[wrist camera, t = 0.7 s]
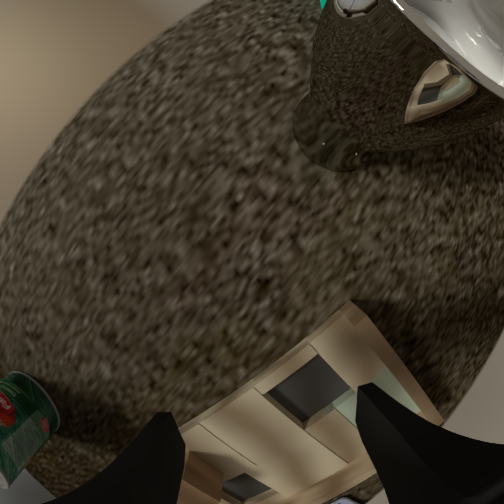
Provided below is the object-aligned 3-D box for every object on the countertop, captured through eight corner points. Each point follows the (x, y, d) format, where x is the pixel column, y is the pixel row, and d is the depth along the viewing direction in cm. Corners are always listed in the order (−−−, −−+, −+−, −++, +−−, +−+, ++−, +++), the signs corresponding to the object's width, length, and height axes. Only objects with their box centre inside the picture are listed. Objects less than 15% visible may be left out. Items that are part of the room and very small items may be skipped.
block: (193, 486, 20) (188, 512, 17) (160, 464, 20) (151, 491, 17) (223, 473, 20) (220, 502, 17) (189, 450, 20) (182, 479, 16)
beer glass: (280, 84, 18) (320, -97, 3) (373, 87, 18) (495, -32, 3) (290, 180, 19) (399, 79, 4) (387, 178, 19) (571, 136, 4)
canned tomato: (28, 362, 21) (-43, 413, 10) (73, 426, 21) (21, 493, 10) (-1, 378, 21) (-59, 421, 10) (38, 434, 22) (-8, 486, 11)
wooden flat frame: (248, 510, 23) (248, 532, 19) (147, 446, 21) (136, 469, 18) (427, 401, 21) (444, 420, 17) (349, 300, 20) (366, 315, 16)
